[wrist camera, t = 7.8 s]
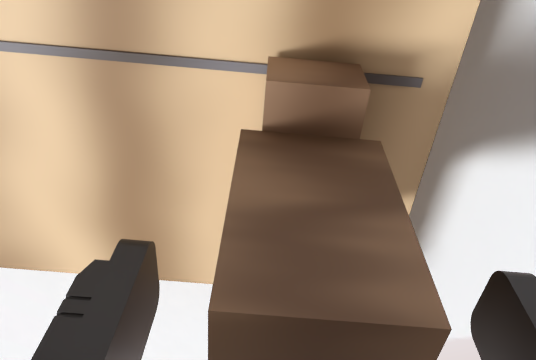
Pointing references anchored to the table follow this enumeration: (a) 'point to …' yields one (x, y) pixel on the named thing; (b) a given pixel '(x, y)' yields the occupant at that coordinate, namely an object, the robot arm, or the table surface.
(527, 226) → the table surface
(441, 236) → the table surface
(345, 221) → the marking gauge
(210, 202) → the oak board
